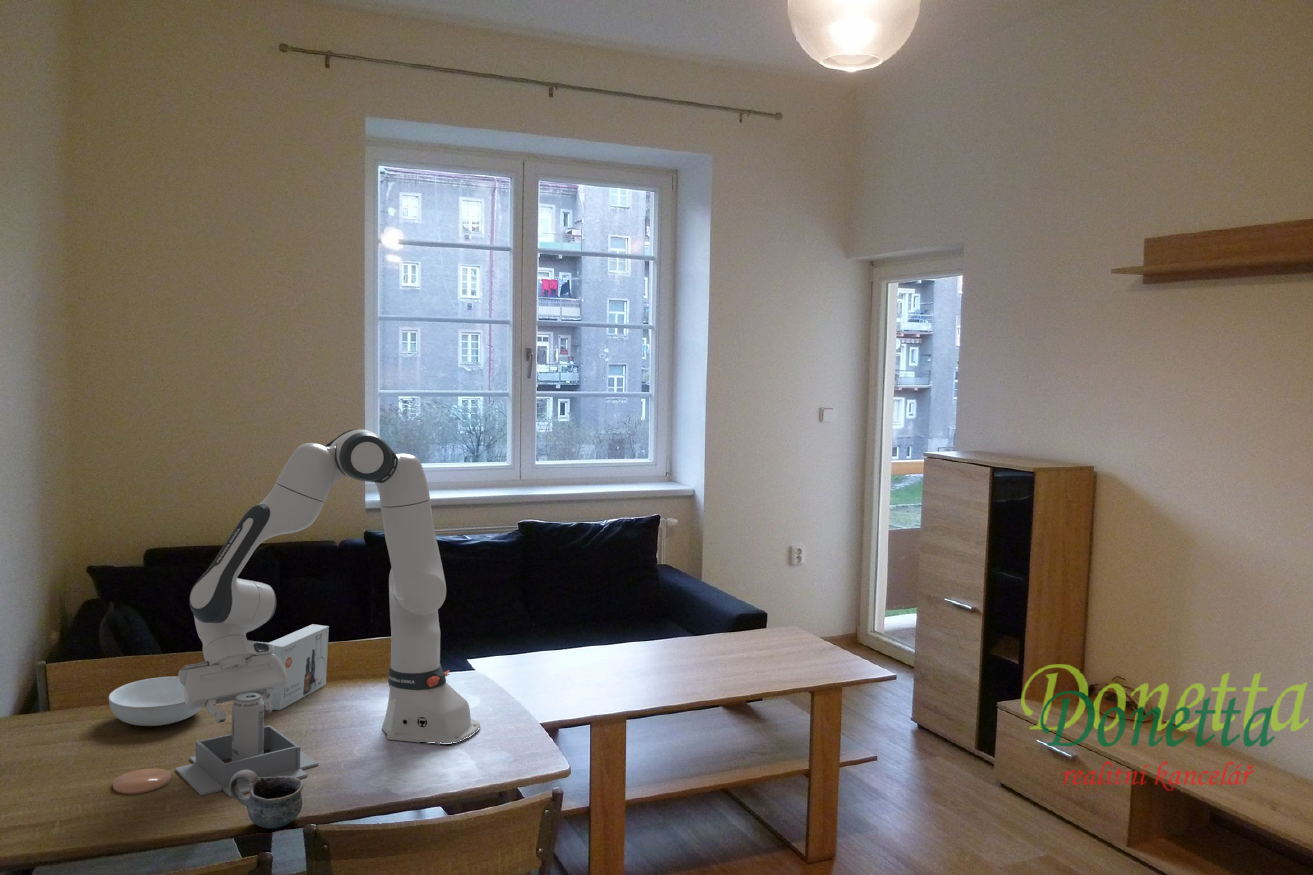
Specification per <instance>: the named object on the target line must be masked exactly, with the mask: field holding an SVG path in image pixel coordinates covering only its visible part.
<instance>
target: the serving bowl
mask: <svg viewBox="0 0 1313 875" xmlns="http://www.w3.org/2000/svg"><path fill="white" fill-rule="evenodd" d="M108 703H109V708H110V710H111V712H112V714H113V715H114V716H115V717H116V718H117V719H119V720H120V721H122V722H124V723H127V724H128V725H133V726H141V727H143V726H144V727H158V726H164V725H165V726H166V725H170V724H174V723H178V722H181V721H184V720H186V719H188V718H190V717H192V716H195V714H197V713H198V712H199V711H200V710H201V709H203V707H199V708H194V709H190V708H189V707H187V706H186V705H185V700H184V692H183V685H182V684H181V682H180V680H179V676H178V675H177V676H159V677H153V678H146V679H141V680H136V681H133V682H129V683H127V684H123V685H121V686H119V687H117V688H115V689H114V690H113V691H111V692H110V693H109V695H108Z"/></svg>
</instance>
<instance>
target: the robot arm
mask: <svg viewBox="0 0 1313 875" xmlns="http://www.w3.org/2000/svg"><path fill="white" fill-rule="evenodd" d="M344 477H348V478H351V479H354V480H357V481H360V482H368V483H369V482H370V483H371V482H372V483H375V485H376V487H377V490H378V494H379V495H378V496H379V504H380V505H379V506H380V510H381V516H382V518H381V519H382V525H383V526H382V527H383V532H384V539H385V544H386V547H387V551H388V557H389V562H390V567H391V568H390V571H389V575H388V591H389V592H388V595H389V596H388V598H389V600H388V601H389V619H390V632H391V635H390V636H391V638H390V640H391V641H390V666H389V667H388V677H387V679H388V680H387V681H388V682H387V683H388V688H389V691H388V692H389V693H388V702H387V706H386V712H385V717H384V720H383V723H382V726H381V728H382V731H383V732H384V733H385V734H386V738H387V739H388V740H391V741H399V742H412V743H420V742H435V743H440V742H441V743H451V742H452V743H453V742H458V741H460V740H463V739H464V738H466V737H469V736H470V735H472V734H473V733H474V732H476V731H477V730H478V728H480V729H481V722H480V721H479V720H474V719H471V711H470V710H471V709H470V705H469V703H468V700H466V699H465V698H464V697H463V696H461V694H460V693H458V692H457V691H456V690H455V689H454V688H453V687H452V686H451V685H450V684H449V683H448V682H447V679H446V678H447V676H450V670H449V669H448V670H446V671H444V669H443V666H442V665H441V662H440V661H441V628H440V621H439V620H440V618H439V609H440V608H441V607H442V606H443V604H444V602H445V600H446V597H447V584H446V578H445V573H444V568H443V562H442V559H441V557H442V556H441V553H440V549H439V545H438V541H437V536H436V531H435V524H434V519H433V510H432V503H431V497H430V495H431V494H430V490H429V485H428V481H427V476H426V475H425V470H424V468H423V465H422V462H421V460H420V458H418V457H416V456H415V455H412V454H410V453H405V452H404V453H395V451H393V449H392V448H391V446H389V444H388V442H387V441H385V439H384V438H382V436H380V435H378V434H377V433H375V432H373V431H371V430H369V429H362V428H361V429H359V428H358V429H357V428H356V429H355V428H354V429H350V430H347V431H344V432H342V433H341V434H339V435H338V436H337V437H335V438H334V439H332V440H331V441H330V442H328V443H327V444H325V445H323V444H320V443H317V442H316V443H315V442H306V443H302V444H300V445H299V446H297V448H295V450H294V452H293V453H292V454H291V456H290V457H289V458H288V460H287V461H286V463H285V465H284V466H283V468H282V469H281V471H280V473H279V475H278V477H277V479H276V481H275V483H274V485H273V486H272V488H271V490H270V491H269V493H268V494H267V495H266V496H265V498H263V500H261V502H259V503H258V504H257V505H254V506H251V507H250V509H249V510H247V511H246V513H245V514H243V516H242V518H241V519H240V521H239V522H238V523H237V525H236V526H235V528H234V529H233V531H232V532H231V534H230V535H229V537H228V538H227V539H226V541H225V543H224V544H223V546H222V548H220V550H219V552H218V553H217V555H216V557H215V558H214V560H213V561H212V562H211V564H210V565H209V567H208V568H207V569H206V570H205V572H203V574H202V575H201V576H200V577H199V578H198V579H197V581H195V583H194V585H193V586H192V588H191V590H190V592H189V596H188V602H189V607H190V610H191V612H192V614H193V618H194V624H195V629H196V632H197V635H198V638H199V639H200V641H201V643H202V653H203V658H204V661H203V662H198V663H193V664H192V663H191V664H186V665H184V666H183V667H181V669H179V671H178V673H177V676H179V680H180V682H181V684H182V685H183V692H184V700H185V705H186V706H187V707H189V708H190V709H194V708H199V707H202V708H203V707H205V709H206V711H207V712H208V713H209V714H210V715H212V717H214V719H215V720H214V721H215V723H216V724H221V723H225V721H226V719H227V716H226V713H225V710H220V709H218V708H217V706H216V705H218V704H223V703H229V702H235V700H236V696H237V695H239V694H243V693H250V692H254V693H259V694H261V696H263V695H264V698H265V699H266V698H267V702H265V703H264V714H269V713H272V711H273V707H272V704H271V701H272V697H273V694H274V693H275V692H281V691H282V690H283V689H284V688H285V686H286V684H287V682H288V677H287V674H286V671H285V668H284V666H283V664H282V662H281V660H280V659H279V657H278V656H276V655H274V654H273V652H274V646H273V645H272V644H270V643H269V642H263V641H261V642H260V641H254V640H249V639H247V633H249V632H252V631H255V630H257V629H259V628H261V627H262V626H264V625H265V624H267V623H268V622H269V621H270V620H271V619H272V618H273V616H274V614H275V612H276V608H277V596H276V593H275V592H276V591H275V590H274V589H273V587H272V586H271V585H269V584H267V583H264V582H261V581H255V580H250V579H243V578H239V575H240V574H241V573H242V571H243V569H244V568H245V566H246V564H247V563H248V561H249V560H250V558H251V557H252V555H253V553H254V552H255V551H256V549H257V548H258V547H259V546H260V544H262V543H264V542H265V541H266V540H268V539H270V538H273V537H277V536H281V535H286V534H293V533H297V532H300V531H303V530H306V529H307V528H309V527H311V526H312V525H313V524H314V522H315V521H316V520H317V518H318V517H319V515H320V513H321V511H322V509H323V507H324V506H325V502H326V500H327V498H328V496H329V493H330V491H331V489H332V488H333V486H334V485H335V483H337V481H338V480H340V479H342V478H344Z"/></svg>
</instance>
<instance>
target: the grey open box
mask: <svg viewBox="0 0 1313 875" xmlns="http://www.w3.org/2000/svg"><path fill="white" fill-rule="evenodd" d="M266 750H268V751H269V752H266V753H264V754H261V755H257V756H253V757H249V758H245V759H241V760H237V761H232V760H231V761H229V762H224V761H225V760H229V759H232V733H229V734H225V735H219V736H216V737H210V738H205V739H202V740H195V755H191V756H189V758H188V759H189V760H190V761H191V762H192V763H191V764H186V765H182V766H177V767H175V768H174V771H175V772H176V773H177V774H178V775H179V776H180V777H181V778H182V779H184V781H185V782H186V783H188V785H189V786H190V787H191V788H192V789H193V790H194V791H196V792H197V793H198V794H199V795H200V796H205V795H209V794H214V793H217V792H220V791H222V792H224V793H225V794H226V795H227V796H228V797H229V798H232V797H233V796H232V795H231V792H230V789H229V784H230V780H231V778H232V777H233V776H234V775H235V774H236V773H237V772H239V771H241V770H251V771H253V772H255V774H256V775H257V777H273V778H275V777H279V776H289V777H294V778H297V779H300V780H302V779H304V778H307V777H308V775H309V774H308V773H307V772H306V771H305V769H309V768H313V767H317V766H318V767H319V762H318V761H316V760H315V759H313V758H312V757H311V756H309V755H308V754H307V753H305V752H304V751H302V749H301V746H300V745H298V743H296V742H294V741H293V740H292V739H290V738H289V737H287V736H286V735H285V734H283V733H282V732H280V731H279V730H278V729H276V728H275V727H274V726H273V725H271V724H267V725H264V751H266ZM237 786H238V788H239V790H240V791H241V792H242V793H243V794H244V795H245V794H247V793H250V788H249V783H248V780H247V779H244V778H239V779H237ZM233 798H234V797H233Z"/></svg>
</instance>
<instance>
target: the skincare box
mask: <svg viewBox="0 0 1313 875" xmlns="http://www.w3.org/2000/svg"><path fill="white" fill-rule="evenodd" d="M329 628H330V626H329V625H321V624H314V623H312V624H310V625H308V626H305V627H303V628H301V629H297V630H295V631H293V632H291V633H288V634H286V635H284V636H282V637H280V638H276V639H275V640H272V641H269V642H268V643H270V644H272V645H273V646H274V652H273V654H274V655H276V656H278V657H279V659H280V660H281V662H282V664H283V666H284V668H285V671H286V674H287V677H288V682H287V684H286V686H285V688H284V689H283V690H282V691H281V692H275V693H274V694H273V697H272V701H271V704H272V707H273V710H275V711H282V710H283V709H285V708H286V707H289V706H291V705H292V704H294V703H295V702H298V701H299V700H301V699H303V698H305V697H306V696H308V695H310V694H312V693H314V692H315V691H317V690H319V689H320V688H323V687H325V686H327V666H328V647H329V630H330V629H329ZM262 700H263V701H264V703H265V702H267V698H266V699H265V698H264V695H262ZM273 710H272V711H273Z"/></svg>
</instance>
